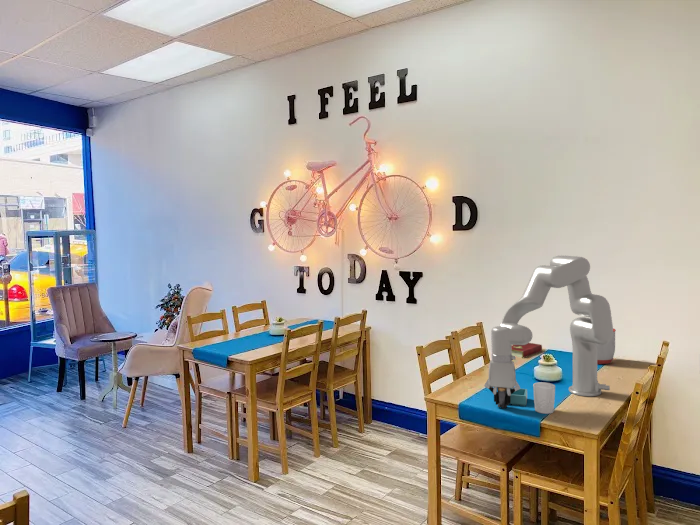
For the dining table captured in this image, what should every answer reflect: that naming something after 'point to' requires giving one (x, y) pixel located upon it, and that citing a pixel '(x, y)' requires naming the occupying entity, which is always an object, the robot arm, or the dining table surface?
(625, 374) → the dining table surface
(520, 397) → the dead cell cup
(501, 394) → the cell
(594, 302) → the robot arm
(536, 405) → the white cup
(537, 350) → the hardcover book
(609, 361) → the citrus juicer
